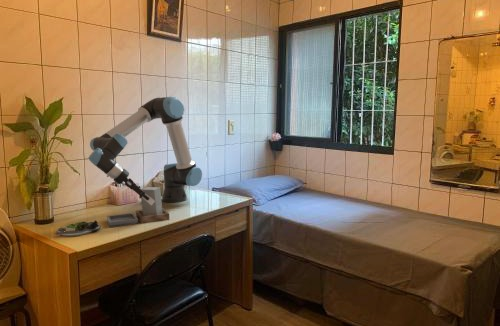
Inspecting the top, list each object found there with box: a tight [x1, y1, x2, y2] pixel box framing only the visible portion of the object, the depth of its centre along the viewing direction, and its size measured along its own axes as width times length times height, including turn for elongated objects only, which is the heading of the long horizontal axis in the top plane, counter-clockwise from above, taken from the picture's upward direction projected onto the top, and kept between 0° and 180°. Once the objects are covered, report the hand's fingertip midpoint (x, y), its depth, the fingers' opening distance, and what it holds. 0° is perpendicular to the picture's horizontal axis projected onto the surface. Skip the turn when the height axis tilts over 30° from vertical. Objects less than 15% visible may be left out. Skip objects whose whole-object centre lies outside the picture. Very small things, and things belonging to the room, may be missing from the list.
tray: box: [106, 212, 139, 228], centre depth 185 cm, size 13×13×2 cm
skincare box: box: [140, 186, 163, 216], centre depth 192 cm, size 8×7×16 cm
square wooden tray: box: [135, 207, 170, 224], centre depth 192 cm, size 14×14×3 cm
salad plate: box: [55, 219, 101, 237], centre depth 171 cm, size 19×18×5 cm
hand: (150, 200), depth 191 cm, fingers open, 13 cm apart
